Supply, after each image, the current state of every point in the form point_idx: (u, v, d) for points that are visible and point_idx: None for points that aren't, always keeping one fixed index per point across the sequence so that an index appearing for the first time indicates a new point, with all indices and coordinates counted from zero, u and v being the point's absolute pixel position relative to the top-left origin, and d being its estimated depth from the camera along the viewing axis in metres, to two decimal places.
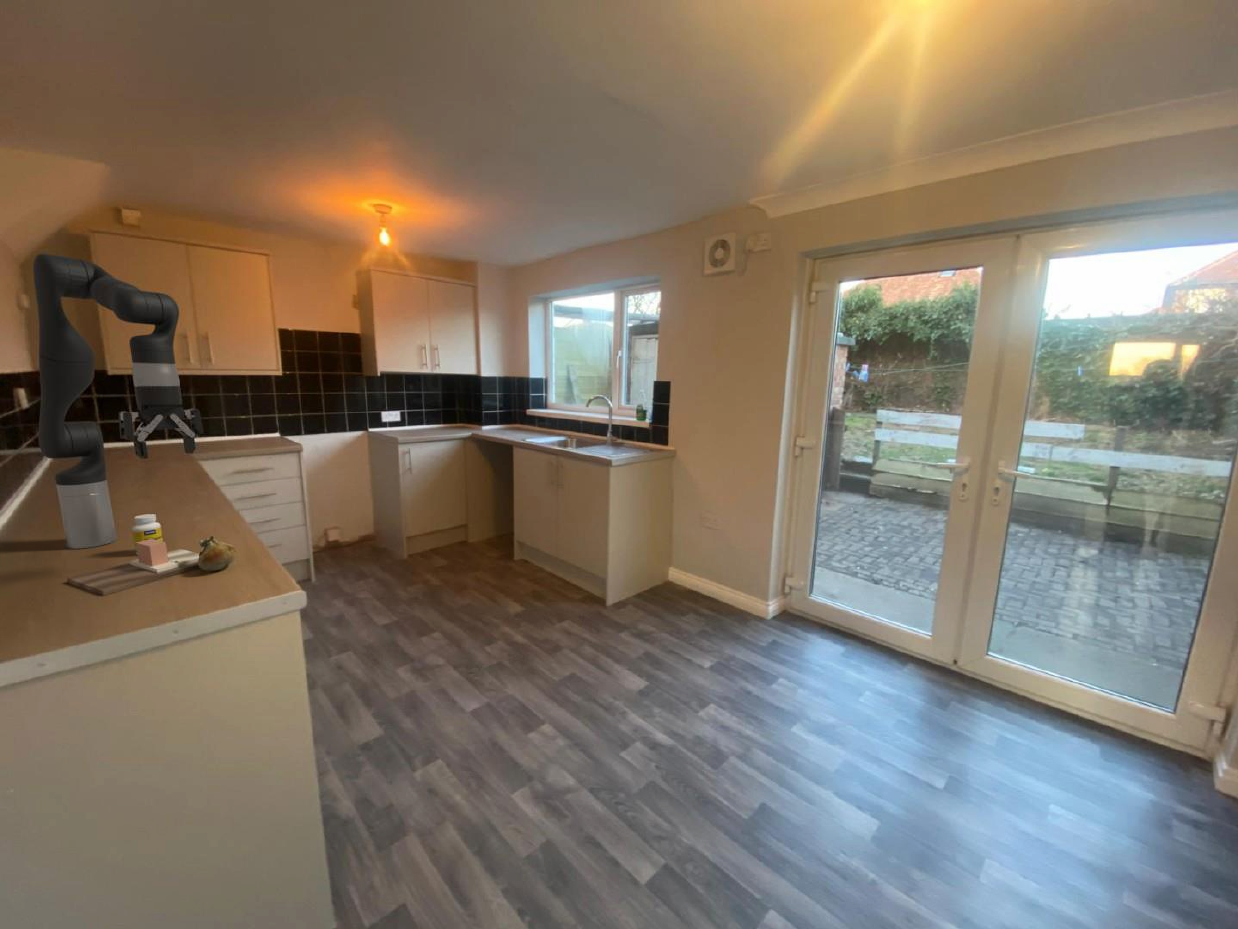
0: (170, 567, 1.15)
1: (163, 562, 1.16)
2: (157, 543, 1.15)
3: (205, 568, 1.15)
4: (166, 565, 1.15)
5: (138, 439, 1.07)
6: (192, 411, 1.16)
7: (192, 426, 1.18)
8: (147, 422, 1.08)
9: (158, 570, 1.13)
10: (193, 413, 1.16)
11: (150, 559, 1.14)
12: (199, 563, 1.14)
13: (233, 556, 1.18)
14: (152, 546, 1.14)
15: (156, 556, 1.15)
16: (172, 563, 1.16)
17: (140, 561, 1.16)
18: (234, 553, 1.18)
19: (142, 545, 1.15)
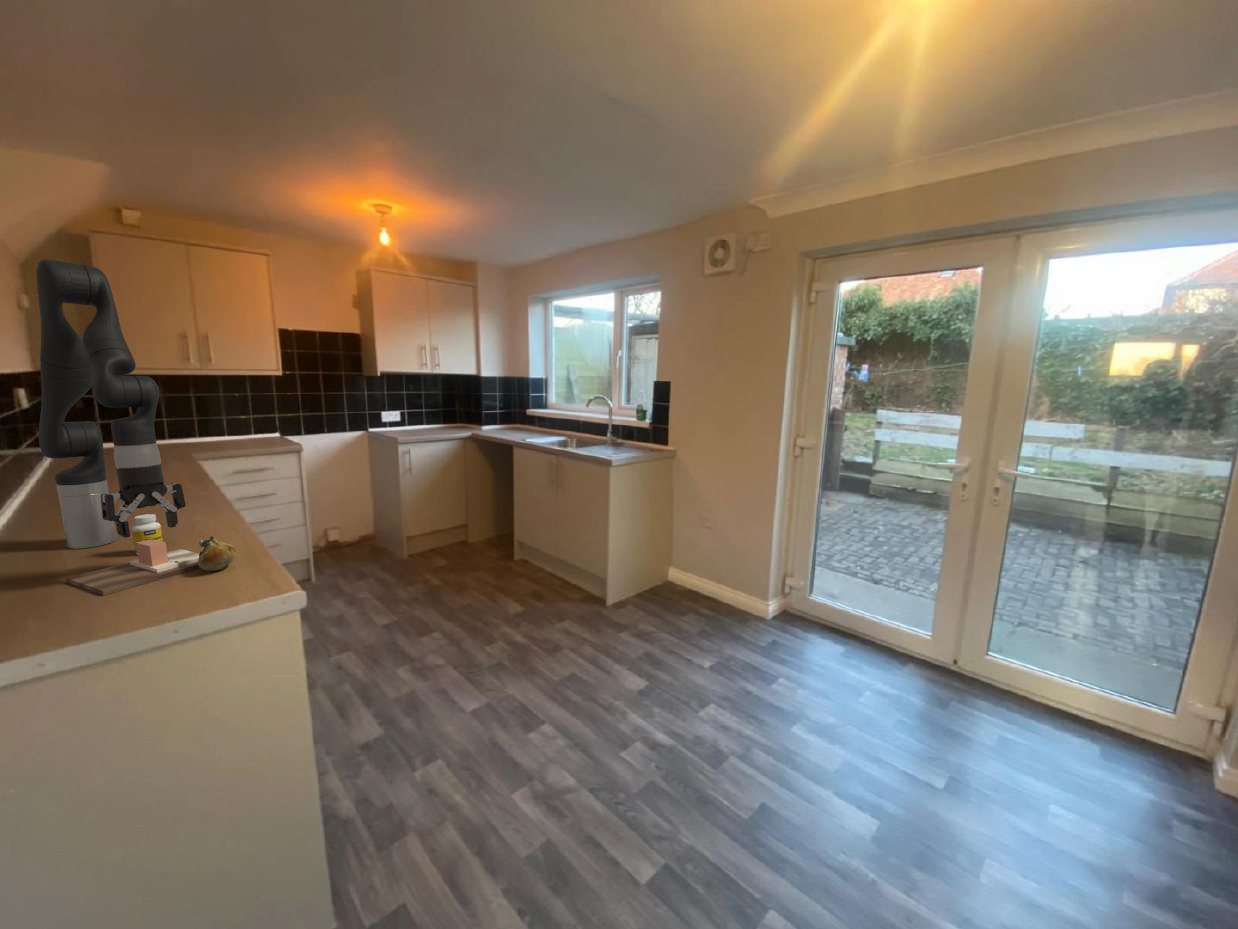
0: (170, 567, 1.15)
1: (163, 562, 1.16)
2: (157, 543, 1.15)
3: (205, 568, 1.15)
4: (166, 565, 1.15)
5: (120, 519, 1.10)
6: (174, 486, 1.19)
7: (174, 500, 1.20)
8: (129, 502, 1.11)
9: (158, 570, 1.13)
10: (175, 488, 1.19)
11: (150, 559, 1.14)
12: (199, 563, 1.14)
13: (233, 556, 1.18)
14: (152, 546, 1.14)
15: (156, 556, 1.15)
16: (172, 563, 1.16)
17: (140, 561, 1.16)
18: (234, 553, 1.18)
19: (142, 545, 1.15)
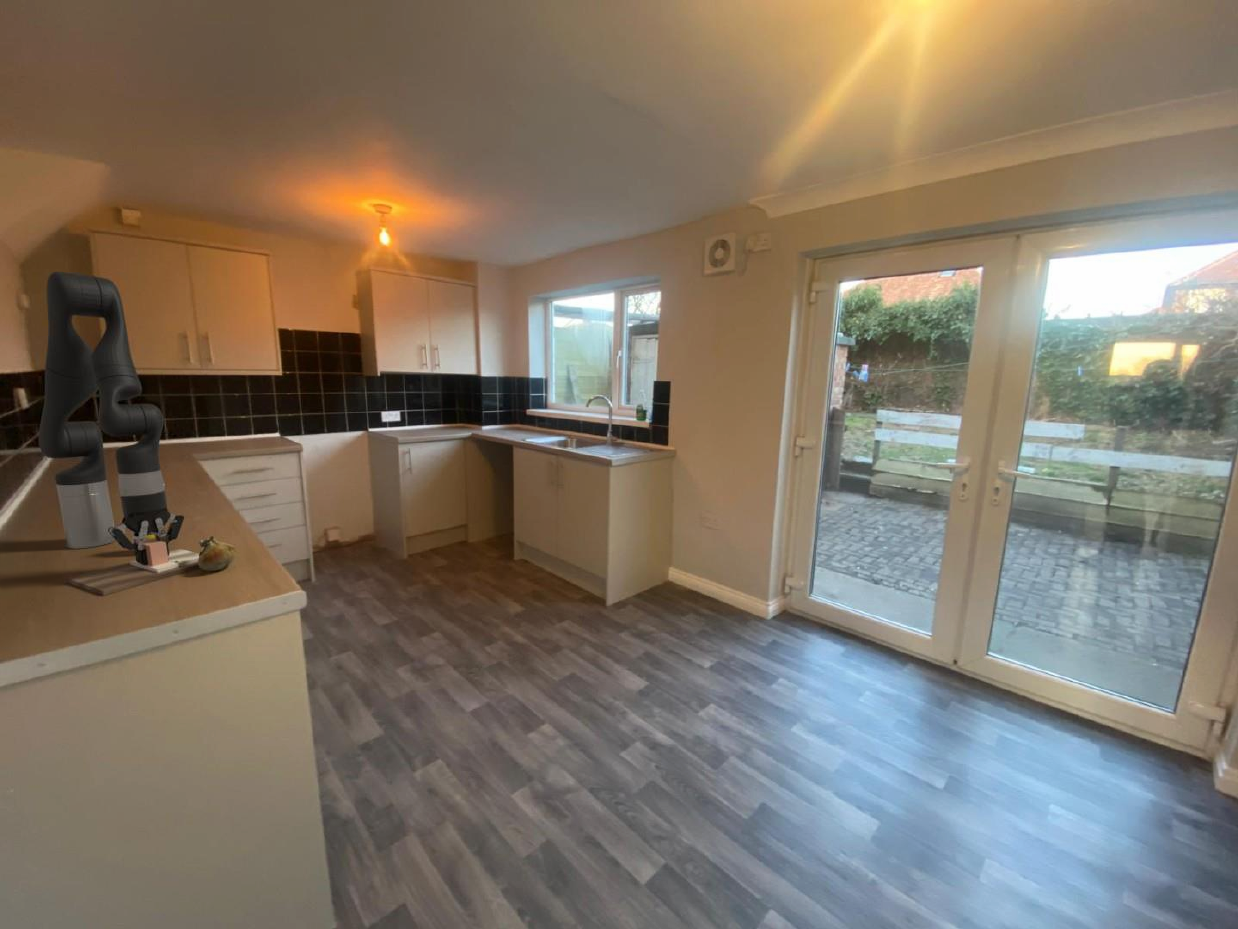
0: (170, 567, 1.15)
1: (163, 562, 1.16)
2: (157, 543, 1.15)
3: (205, 568, 1.15)
4: (166, 565, 1.15)
5: (139, 548, 1.13)
6: (177, 517, 1.20)
7: (169, 531, 1.20)
8: (137, 531, 1.13)
9: (158, 570, 1.13)
10: (177, 518, 1.20)
11: (150, 559, 1.14)
12: (199, 563, 1.14)
13: (233, 556, 1.18)
14: (152, 546, 1.14)
15: (156, 556, 1.15)
16: (172, 563, 1.16)
17: None
18: (234, 553, 1.18)
19: None
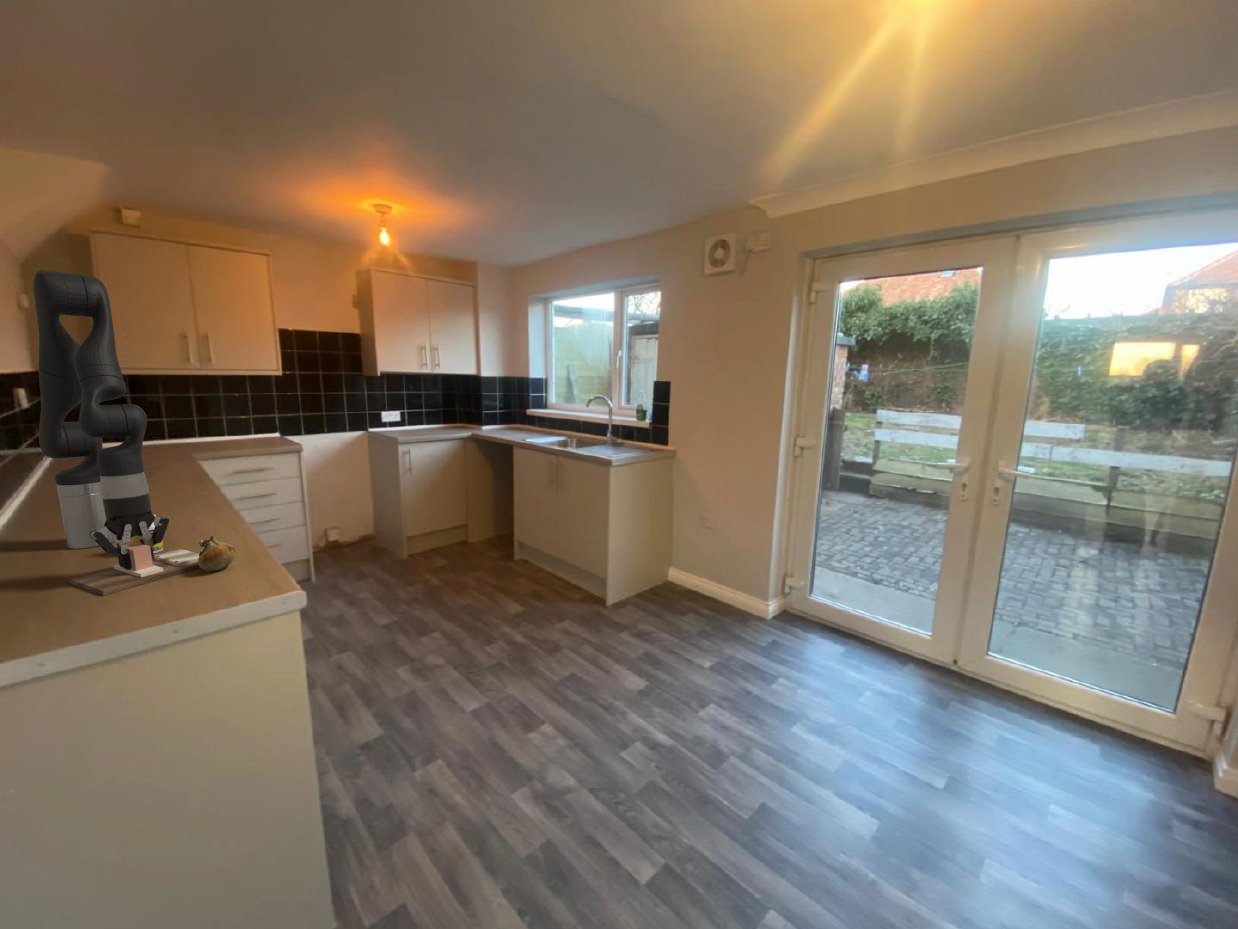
0: (154, 571, 1.12)
1: (147, 566, 1.14)
2: (141, 547, 1.13)
3: (205, 568, 1.15)
4: (150, 569, 1.12)
5: (122, 552, 1.11)
6: (161, 520, 1.17)
7: (153, 534, 1.17)
8: (120, 535, 1.10)
9: (142, 574, 1.10)
10: (162, 522, 1.17)
11: (134, 563, 1.12)
12: (199, 563, 1.14)
13: (233, 556, 1.18)
14: (136, 550, 1.11)
15: (140, 560, 1.12)
16: (157, 567, 1.14)
17: None
18: (234, 553, 1.18)
19: None
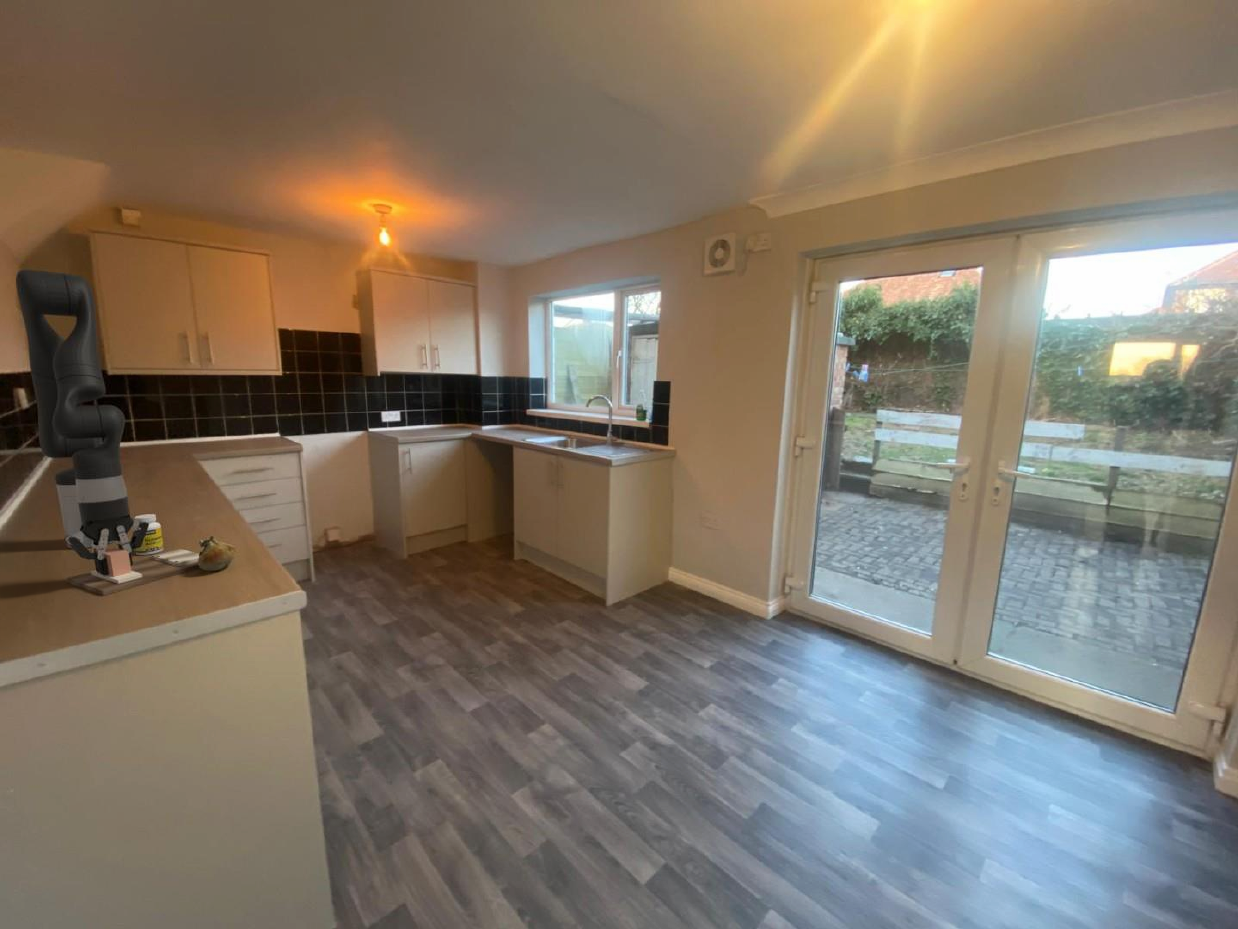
0: (132, 577, 1.09)
1: (125, 572, 1.10)
2: (119, 552, 1.09)
3: (205, 568, 1.15)
4: (128, 575, 1.09)
5: (98, 557, 1.07)
6: (141, 524, 1.14)
7: (132, 539, 1.14)
8: (97, 540, 1.07)
9: (119, 581, 1.07)
10: (141, 526, 1.14)
11: (111, 569, 1.08)
12: (199, 563, 1.14)
13: (233, 556, 1.18)
14: (113, 555, 1.08)
15: (118, 566, 1.09)
16: (135, 573, 1.10)
17: None
18: (234, 553, 1.18)
19: None
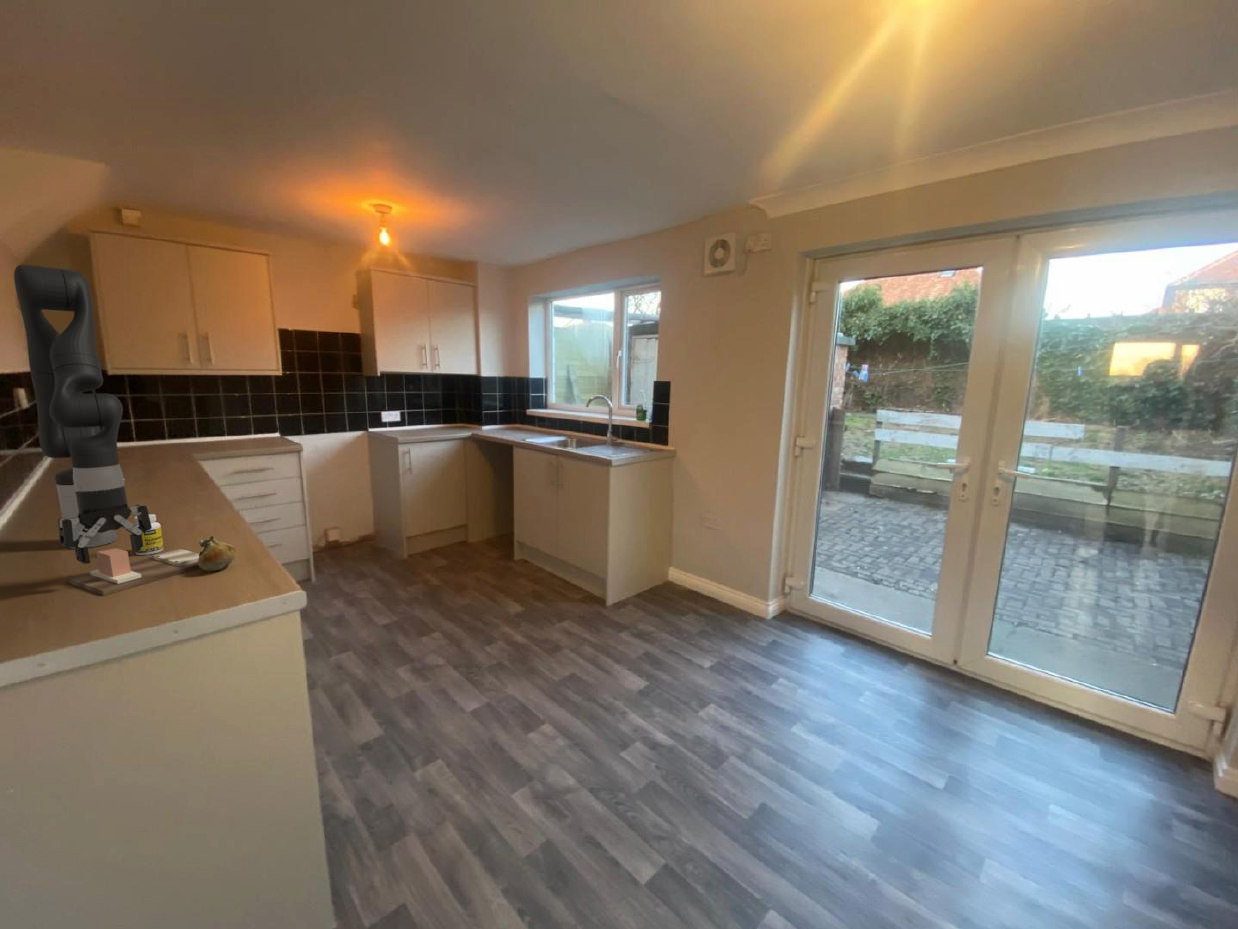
0: (132, 578, 1.09)
1: (125, 572, 1.10)
2: (118, 552, 1.09)
3: (205, 568, 1.15)
4: (128, 575, 1.09)
5: (79, 545, 1.04)
6: (139, 508, 1.13)
7: (140, 522, 1.15)
8: (89, 526, 1.06)
9: (118, 581, 1.07)
10: (140, 510, 1.13)
11: (110, 569, 1.08)
12: (199, 563, 1.14)
13: (233, 556, 1.18)
14: (112, 555, 1.08)
15: (117, 566, 1.09)
16: (134, 573, 1.10)
17: (101, 571, 1.10)
18: (234, 553, 1.18)
19: (102, 554, 1.09)
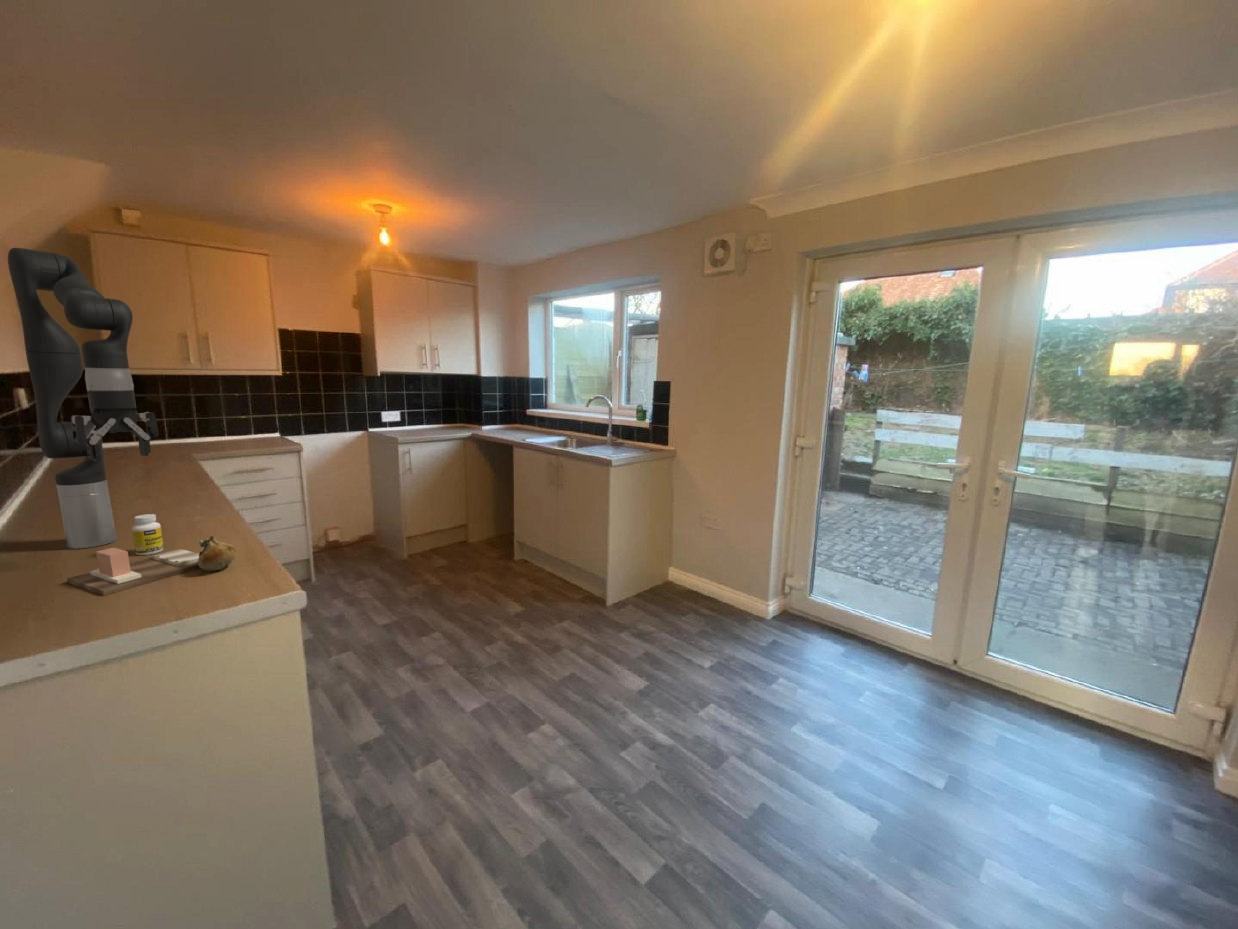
0: (132, 578, 1.09)
1: (125, 572, 1.10)
2: (118, 552, 1.09)
3: (205, 568, 1.15)
4: (128, 575, 1.09)
5: (90, 442, 1.10)
6: (147, 415, 1.19)
7: (148, 429, 1.20)
8: (100, 425, 1.11)
9: (118, 581, 1.07)
10: (148, 416, 1.19)
11: (110, 569, 1.08)
12: (199, 563, 1.14)
13: (233, 556, 1.18)
14: (112, 555, 1.08)
15: (117, 566, 1.09)
16: (134, 573, 1.10)
17: (101, 571, 1.10)
18: (234, 553, 1.18)
19: (102, 554, 1.09)
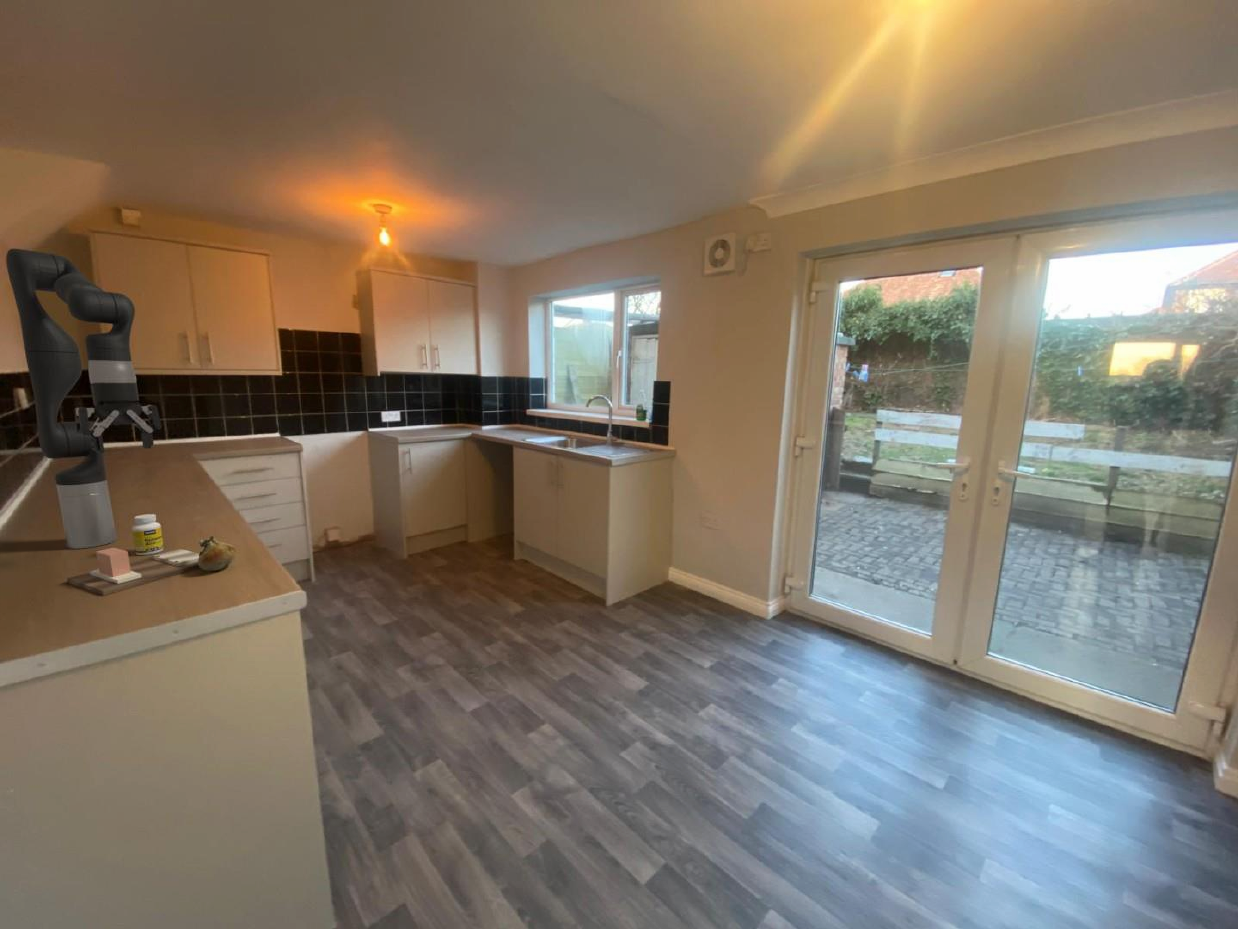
0: (132, 578, 1.09)
1: (125, 572, 1.10)
2: (118, 552, 1.09)
3: (205, 568, 1.15)
4: (128, 575, 1.09)
5: (94, 434, 1.11)
6: (149, 407, 1.20)
7: (150, 422, 1.21)
8: (103, 417, 1.12)
9: (118, 581, 1.07)
10: (151, 409, 1.20)
11: (110, 569, 1.08)
12: (199, 563, 1.14)
13: (233, 556, 1.18)
14: (112, 555, 1.08)
15: (117, 566, 1.09)
16: (134, 573, 1.10)
17: (101, 571, 1.10)
18: (234, 553, 1.18)
19: (102, 554, 1.09)
